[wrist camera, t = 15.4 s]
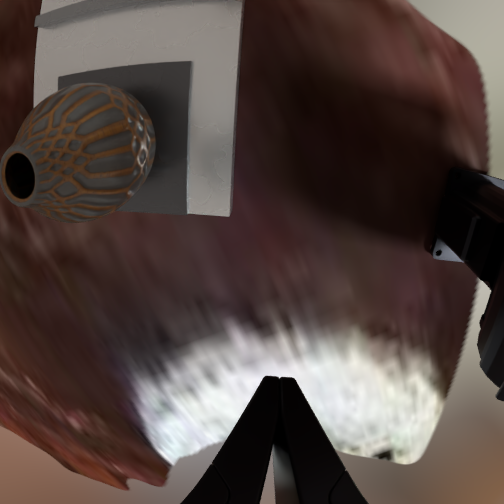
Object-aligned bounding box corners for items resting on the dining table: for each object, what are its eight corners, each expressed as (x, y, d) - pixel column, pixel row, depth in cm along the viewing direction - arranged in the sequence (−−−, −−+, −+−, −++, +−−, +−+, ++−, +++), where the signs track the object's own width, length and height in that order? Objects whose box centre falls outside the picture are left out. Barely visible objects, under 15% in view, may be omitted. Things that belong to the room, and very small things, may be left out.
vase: (57, 120, 17) (-47, 147, 9) (143, 62, 15) (45, 45, 7) (99, 212, 19) (14, 280, 11) (190, 168, 18) (123, 224, 10)
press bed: (251, -70, 12) (248, -87, 10) (232, 210, 20) (226, 222, 18) (59, -36, 12) (43, -43, 10) (50, 200, 21) (33, 210, 19)
